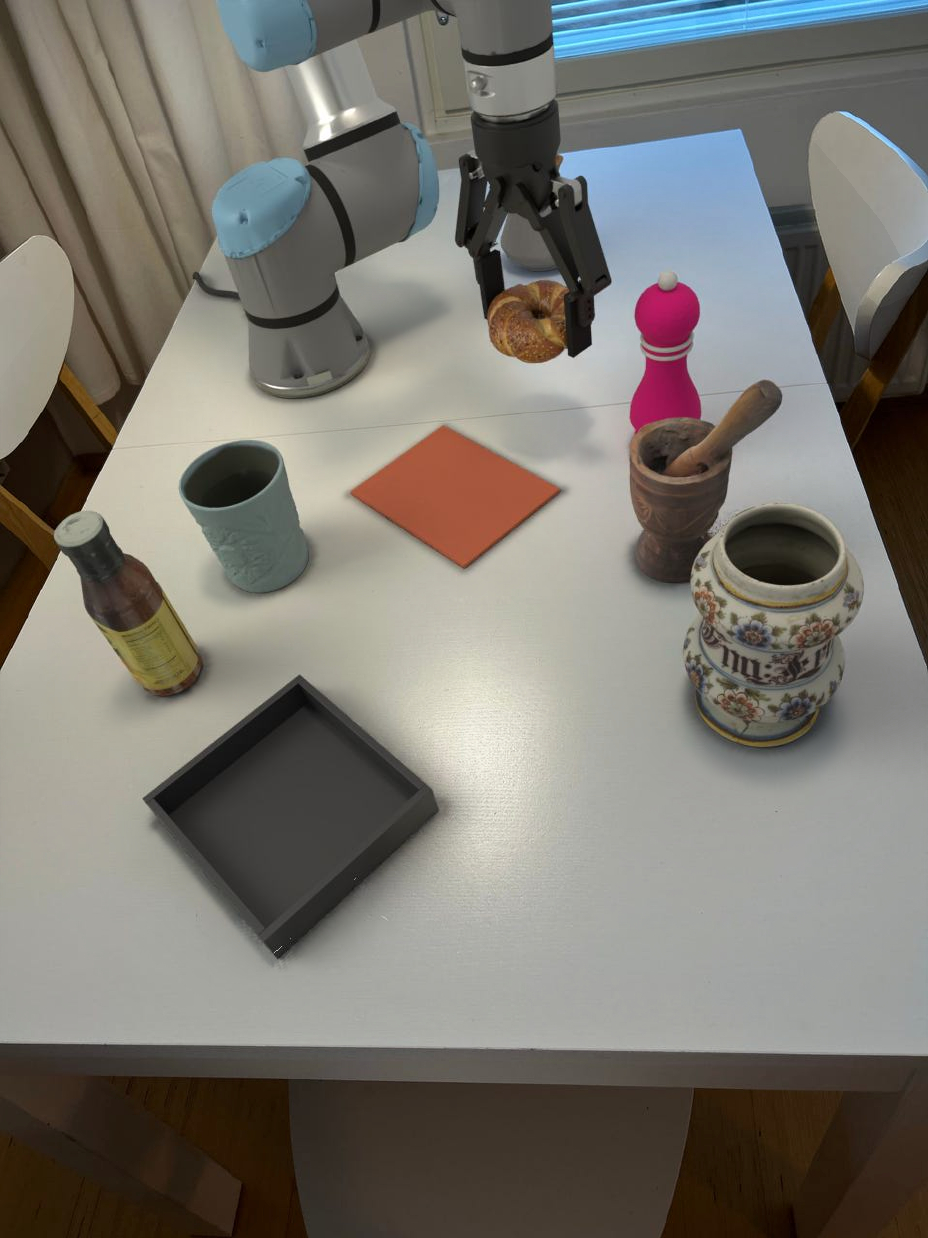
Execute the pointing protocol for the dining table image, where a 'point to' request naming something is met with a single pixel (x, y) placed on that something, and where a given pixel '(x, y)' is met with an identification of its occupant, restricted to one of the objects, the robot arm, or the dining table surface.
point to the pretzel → (529, 321)
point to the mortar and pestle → (688, 480)
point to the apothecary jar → (770, 622)
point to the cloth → (455, 495)
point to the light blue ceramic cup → (247, 513)
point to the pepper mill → (666, 352)
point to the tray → (291, 811)
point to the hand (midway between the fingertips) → (536, 331)
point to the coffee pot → (527, 241)
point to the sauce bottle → (129, 607)
